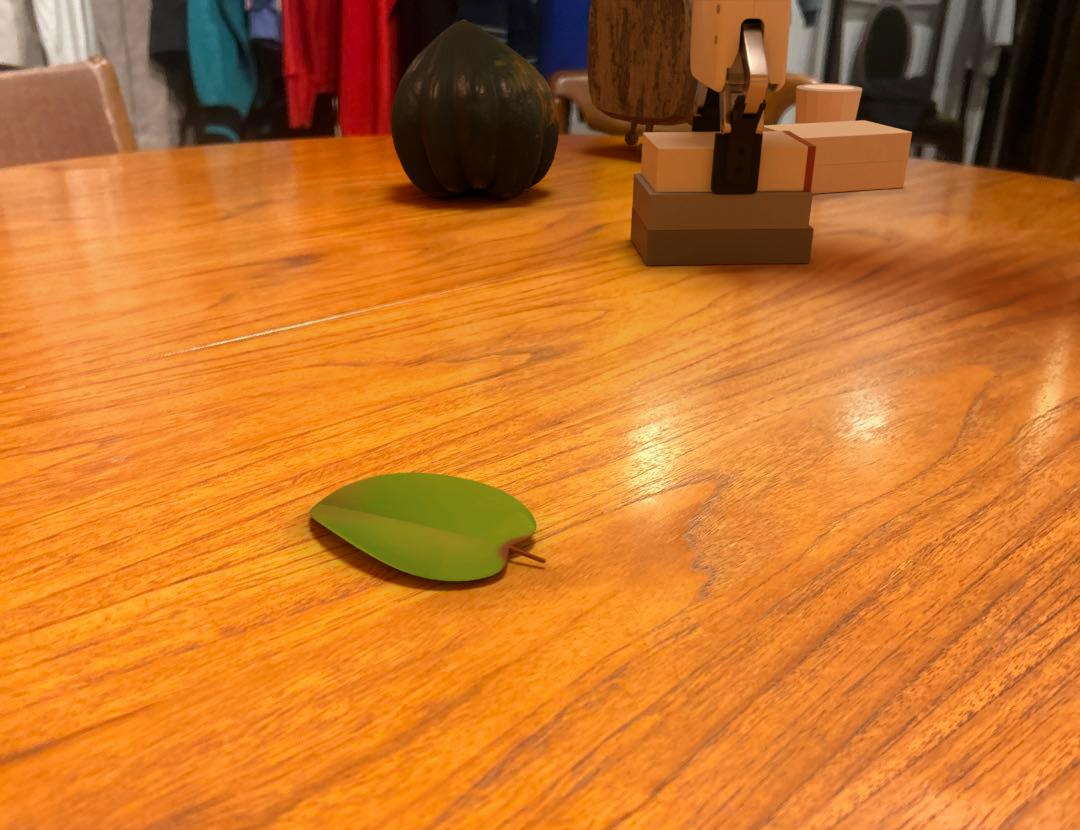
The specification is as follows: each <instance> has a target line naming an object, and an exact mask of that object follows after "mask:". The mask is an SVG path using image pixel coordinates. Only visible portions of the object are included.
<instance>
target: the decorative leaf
mask: <svg viewBox="0 0 1080 830" xmlns="http://www.w3.org/2000/svg"><path fill="white" fill-rule="evenodd" d="M308 514H309V516H310V517H311V519H313V520H314V521H316V522H317V523H319V524H320V525H322V526H323V527H325V528H326V529H327V530H329V531H331V532H332V533H333V534H335V535H337V536H338V537H340V538H341V539H343V540H344V541H346V542H347V543H349V544H350V545H352V546H354V547H355V548H357V549H358V550H360V551H362V552H364V553H365V554H367V555H369V556H370V557H372V558H374V559H376V560H378V561H379V562H381V563H383V564H386V565H388V566H390V567H392V568H394V569H396V570H399V571H400V572H404V573H407V574H409V575H412V576H416V577H420V578H424V579H429V580H434V581H435V580H436V581H443V582H468V581H475V580H482V579H486V578H489V577H492V576H494V575H496V574H498V573H499V572H501V571H502V570H503V569H504V568H505V567H506V566H507V562H508V559H509V554H510V553H509V552H512V553H514V554H517V555H519V556H523V557H525V558H528V559H529V560H530V559H531V560H533V561H535V562H538V563H540V564H546V562H547V560H546V559H545V558H544V557H541V556H538V555H535V554H533V553H531V552H529V551H526V550H522V549H520V548H518V547H516V546H517V545H519V544H521V543H523V542H525V541H527V540H528V539H529V538H531V537H532V536H533V535H534V534H535V533H536V531H537V521H536V520H535V517H534V515H533V514H532V513H531V511H530V510H529V508H527V506H526V505H525V504H523V502H522V501H520V500H519V499H517V498H516V497H515V496H513V495H512V494H510V493H508V492H506V491H504V490H503V489H502V490H501V489H499V488H497V487H495V486H492V485H490V484H487V483H483V482H481V481H478V480H477V481H476V480H474V479H473V480H472V479H468V478H464V477H459V476H453V475H448V474H441V473H440V474H439V473H431V472H430V473H429V472H395V473H385V474H380V475H375V476H369V477H366V478H363V479H359V480H356V481H353V482H351V483H348V484H346V485H343V486H342V487H340V488H337V489H336V490H334V491H333V492H331V493H329V494H328V495H326V496H325V497H323V498H322V499H321V500H320V501H318V502H317V503H316V504H314V505H313V506H312V507H311V508H310V510H309V512H308Z"/></svg>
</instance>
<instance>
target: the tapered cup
mask: <svg viewBox="0 0 1080 830" xmlns="http://www.w3.org/2000/svg"><path fill="white" fill-rule="evenodd" d="M862 92H863V87H861V86H860V87H859V86H857V85H851V84H846V83H845V84H844V83H828V82H827V83H825V82H824V83H823V82H822V83H821V82H819V83H817V82H816V83H806V84H805V83H804V84H800V85H799V84H798V85H797V86H796V87H795V113H794V114H795V115H794V124H801V123H821V122H841V121H857V120H856V119H857V115H858V110H859V106H860V102H861V97H862Z"/></svg>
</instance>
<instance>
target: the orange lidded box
mask: <svg viewBox="0 0 1080 830" xmlns="http://www.w3.org/2000/svg"><path fill="white" fill-rule="evenodd" d="M763 131H790V132H792V133H794V134H795V135H797V136H799V137H801V138H802V139H804V140H806V141H807V142H809V143H811V144H813V145H814V146H816V154H815V162H814V170H813V179H812V187H811V192H812V193H813V195H816V194H817V195H818V194H829V193H830V194H832V193H846V192H847V193H848V192H858V191H859V192H860V191H874V190H886V189H899V188H904V186H905V185H904V184H905V180H906V179H905V178H906V172H907V166H908V161H909V155H910V150H911V149H910V148H911V142H912V135H913V131H909V130H905V129H901V128H898V127H893V126H890V125H885V124H881V123H877V122H873V121H869V120H865V119H864V120H863V119H862V120H855V121H841V122H821V123H801V124H795V123H785V124H783V123H782V124H766V125H765V124H764V130H763Z"/></svg>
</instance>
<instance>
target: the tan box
mask: <svg viewBox="0 0 1080 830" xmlns="http://www.w3.org/2000/svg"><path fill="white" fill-rule="evenodd" d="M715 133H721V132H691V131H652V132H644V131H643V132H642V139H641V140H642V142H641V143H642V157H641V163H640V164H641V165H640V166H641V167H640V173H641V174H642V176H643V177H644V178H645V179H646V181H647V182H648V183H649V184H650V186H651V187H652V188H653V189H654V191H655V192H656V193H680V192H712V191H711V178H712V166H713V153H714V141H715ZM815 154H816V146H814V145H813V144H811V143H809V142H807V141H806V140H804V139H802V138H801V137H799V136H797V135H795V134H794V133H792V132H790V131H763V139H762V149H761V159H760V169H759V179H758V189H757V191H756V192H762V191H811V187H812V179H813V170H814V162H815Z"/></svg>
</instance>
